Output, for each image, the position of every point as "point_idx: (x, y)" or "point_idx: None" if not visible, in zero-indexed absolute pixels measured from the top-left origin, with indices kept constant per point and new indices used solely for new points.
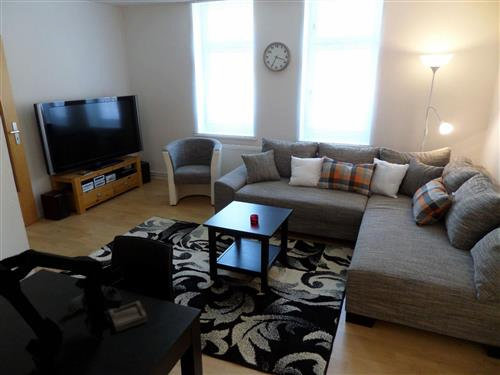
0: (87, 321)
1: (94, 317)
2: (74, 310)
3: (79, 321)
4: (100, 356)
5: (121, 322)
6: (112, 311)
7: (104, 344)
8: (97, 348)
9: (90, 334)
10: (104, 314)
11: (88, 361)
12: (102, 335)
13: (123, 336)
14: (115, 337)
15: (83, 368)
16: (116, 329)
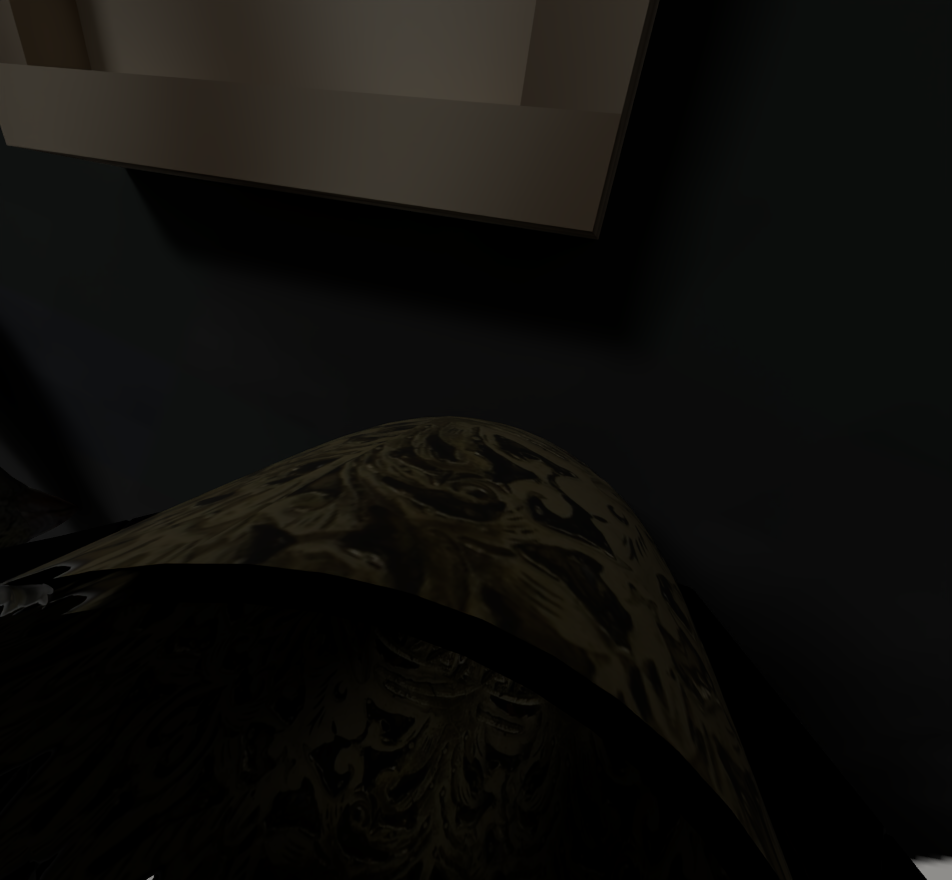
0: (246, 828)
1: (157, 671)
2: (4, 515)
3: (161, 498)
4: (944, 677)
5: (438, 5)
6: (48, 94)
7: (731, 522)
8: (720, 611)
9: (534, 744)
10: (79, 581)
11: (854, 770)
12: (742, 658)
13: (890, 148)
14: (736, 318)
15: (913, 843)
16: (598, 226)
